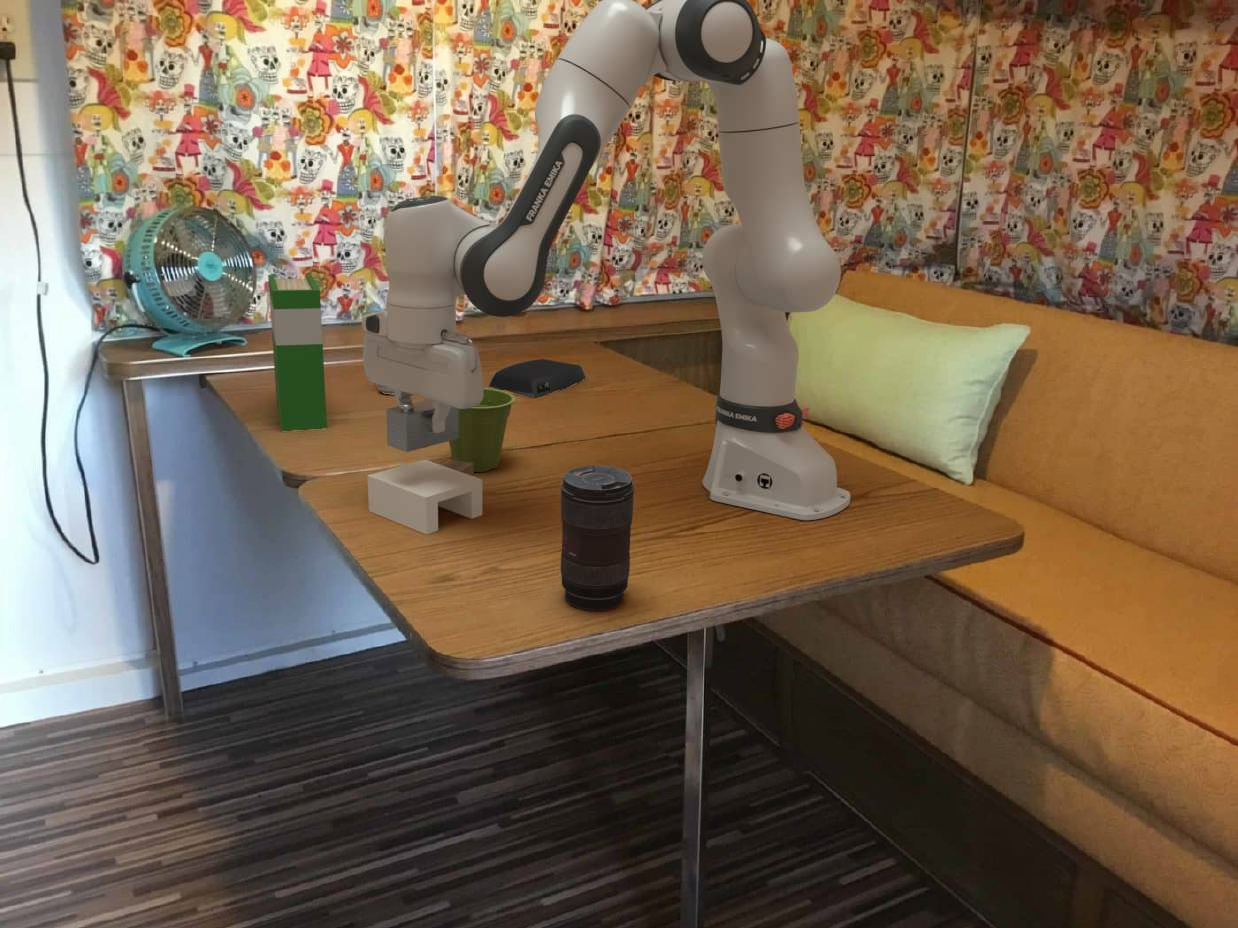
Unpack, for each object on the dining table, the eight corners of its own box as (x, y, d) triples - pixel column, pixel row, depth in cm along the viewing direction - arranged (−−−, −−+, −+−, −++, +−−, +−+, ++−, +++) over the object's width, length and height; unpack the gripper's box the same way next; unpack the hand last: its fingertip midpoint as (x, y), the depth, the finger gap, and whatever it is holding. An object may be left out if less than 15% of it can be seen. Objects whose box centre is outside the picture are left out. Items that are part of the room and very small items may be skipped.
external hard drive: (483, 390, 207) (483, 370, 206) (538, 373, 223) (539, 355, 222) (536, 401, 201) (537, 381, 200) (589, 383, 217) (590, 364, 216)
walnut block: (473, 488, 152) (473, 463, 150) (460, 497, 148) (460, 471, 147) (449, 484, 153) (449, 459, 151) (436, 493, 149) (435, 467, 148)
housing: (407, 452, 133) (406, 409, 132) (387, 445, 136) (386, 403, 134) (458, 438, 140) (458, 397, 138) (439, 432, 142) (438, 391, 141)
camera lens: (544, 596, 118) (546, 474, 113) (595, 577, 124) (599, 459, 119) (591, 621, 113) (596, 493, 108) (643, 600, 118) (649, 478, 114)
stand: (482, 514, 141) (482, 479, 140) (426, 534, 134) (425, 497, 132) (424, 493, 149) (424, 459, 147) (368, 511, 141) (367, 475, 139)
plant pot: (458, 482, 153) (457, 410, 150) (426, 460, 163) (425, 391, 159) (528, 471, 160) (528, 401, 156) (493, 450, 169) (493, 384, 166)
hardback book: (276, 405, 189) (268, 274, 182) (318, 403, 192) (311, 274, 184) (281, 432, 174) (272, 291, 166) (327, 429, 176) (319, 290, 169)
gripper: (495, 334, 129) (494, 439, 133) (391, 311, 141) (393, 407, 146) (457, 341, 124) (458, 449, 129) (353, 316, 136) (356, 415, 141)
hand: (422, 427), depth 137 cm, fingers closed on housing, 4 cm apart
